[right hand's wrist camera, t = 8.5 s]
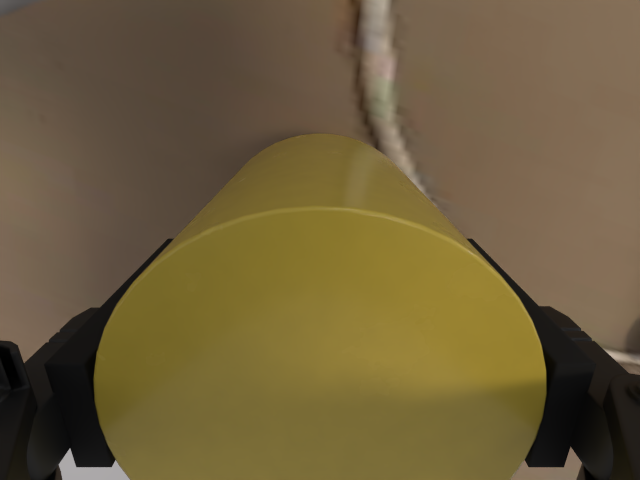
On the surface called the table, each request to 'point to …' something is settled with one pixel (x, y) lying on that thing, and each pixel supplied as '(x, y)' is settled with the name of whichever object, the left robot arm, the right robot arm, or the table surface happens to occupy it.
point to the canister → (320, 336)
